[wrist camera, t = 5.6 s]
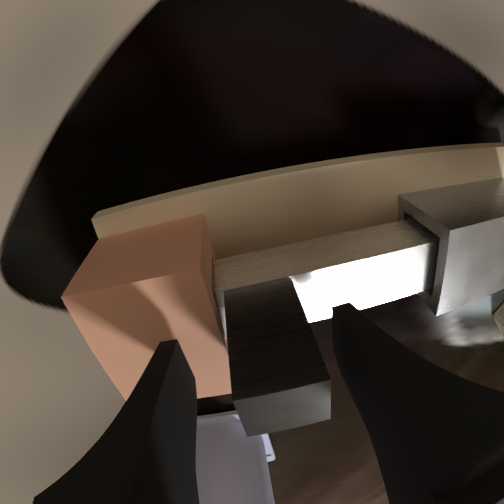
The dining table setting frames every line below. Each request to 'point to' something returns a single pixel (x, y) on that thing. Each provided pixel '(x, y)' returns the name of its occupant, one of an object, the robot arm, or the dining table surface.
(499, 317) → the skincare box
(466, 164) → the birch board
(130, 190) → the dining table surface
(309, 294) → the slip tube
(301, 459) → the dining table surface
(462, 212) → the grey sleeve
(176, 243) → the socket block
